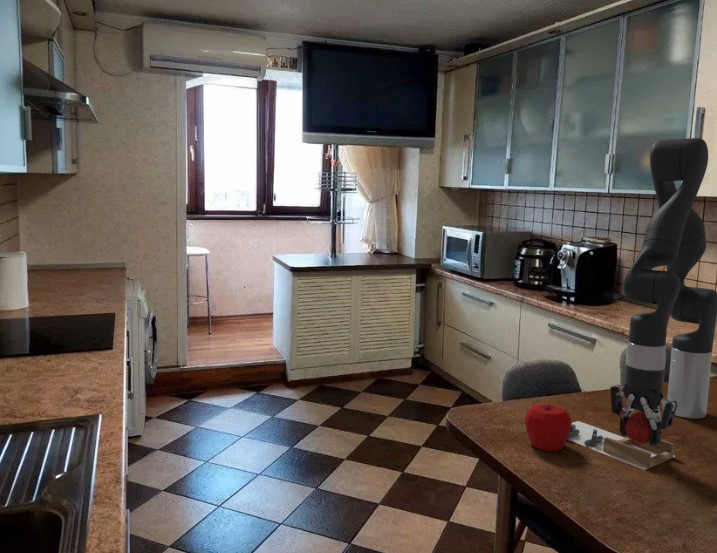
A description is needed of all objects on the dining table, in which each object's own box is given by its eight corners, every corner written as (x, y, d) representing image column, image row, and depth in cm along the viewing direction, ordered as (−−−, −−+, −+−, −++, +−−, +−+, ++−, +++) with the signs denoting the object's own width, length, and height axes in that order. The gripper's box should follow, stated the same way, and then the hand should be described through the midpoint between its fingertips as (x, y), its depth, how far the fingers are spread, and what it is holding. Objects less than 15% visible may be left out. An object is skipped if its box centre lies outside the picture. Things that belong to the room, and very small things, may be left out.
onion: (656, 452, 127) (659, 415, 126) (627, 449, 128) (630, 413, 127) (649, 441, 133) (652, 405, 132) (621, 438, 134) (624, 403, 133)
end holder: (629, 441, 138) (630, 428, 137) (673, 457, 129) (674, 443, 129) (603, 451, 132) (604, 438, 131) (647, 468, 124) (648, 454, 123)
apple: (569, 445, 138) (572, 399, 136) (569, 462, 129) (573, 413, 127) (524, 439, 141) (527, 393, 139) (521, 455, 132) (524, 407, 130)
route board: (578, 425, 150) (579, 411, 149) (675, 461, 130) (676, 445, 130) (540, 438, 142) (541, 423, 141) (638, 478, 122) (639, 461, 122)
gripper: (688, 369, 124) (681, 447, 127) (623, 353, 136) (618, 425, 138) (669, 375, 120) (662, 456, 122) (603, 358, 132) (598, 432, 134)
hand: (639, 439), depth 130 cm, fingers closed on onion, 5 cm apart
